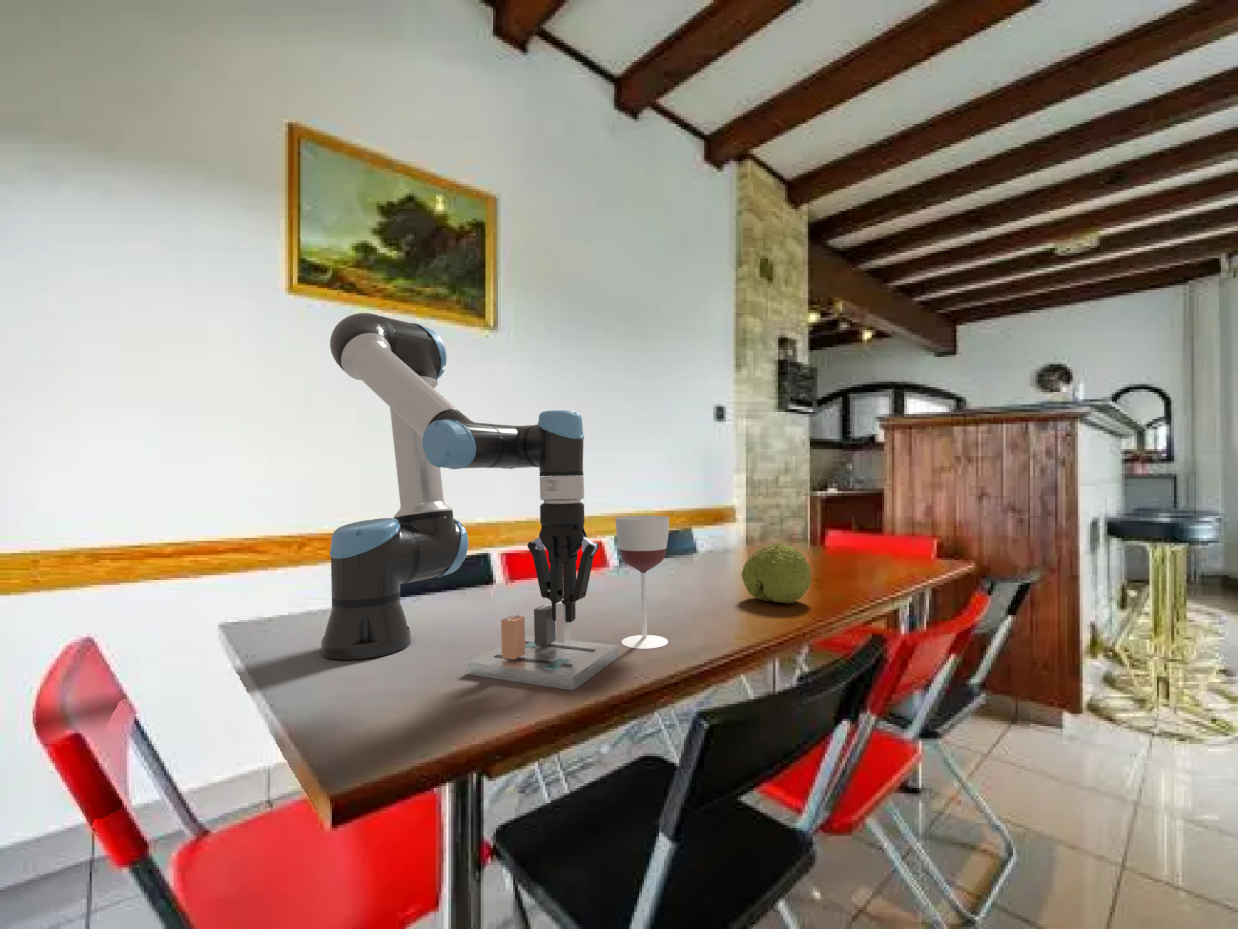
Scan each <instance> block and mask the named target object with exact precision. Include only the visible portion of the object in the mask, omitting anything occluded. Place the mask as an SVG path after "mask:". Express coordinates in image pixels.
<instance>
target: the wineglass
mask: <svg viewBox="0 0 1238 929" xmlns="http://www.w3.org/2000/svg"><path fill="white" fill-rule="evenodd" d="M669 530H670V517H669V516H664V515H627V516H626V515H625V516H618V517H615V532H616V539H617V544H618V545H617V546H618V550H619V555H620V556H621V560H622V561H623V562H624V563H625V564H627V565H628V566H630V567H631V568H632V569H635V570H637V571H638V572H640V586H641V587H640V588H641V595H640V596H641V634H637V635H631V636H628V637H624V638H623V639H622V640H621V644H622V645H623V646H625V647H629V648H632V649H640V650H643V649H645V650H646V649H647V650H648V649H657V648H660V647H661V648H662V647H664V646H666V645H667V644H669V641H668V639H667V638H665V637H662V636H660V635H655V634H654V635H653V634H652V635H651V634H648V625H647V624H648V620H647V619H648V618H647V580H646V579H647V576H646V573H647V572H648V571H649V570H651V569H653V568H655V567H656V566H658V565H659V564H660V563H661V562H662V561H663V560H664V559H665V556H666V555H667V554H666V552H667V547H668V541H669V534H670V533H669V532H670V531H669Z"/></svg>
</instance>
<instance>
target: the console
mask: <svg viewBox="0 0 1238 929" xmlns="http://www.w3.org/2000/svg"><path fill="white" fill-rule="evenodd" d="M617 658H619V645H616V644H608V643H601V642H600V643H599V642H590V641H582V640H575V639H574V640H573V639H570V640H568V641H567V642H565V643H560V642H556V641H555V642H553V643H551V644H549V645H547V646H544V645H536V644H535V637H534V635H529V634H525V654H524V655H522V656H520V657H518V658H517V659H515V660H514V659H507V658H502V644H501V645H499V646H497V647H496V648H493V649H491V650H489V651H488V652H485V653H483V654H480V655H479V656H477V657H475V658H473V659H470V660H468V661H467V662H466V663H467V675H469V676H474V677H475V676H476V677H483V678H488V679H496V680H501V681H502V680H503V681H509V682H514V683H522V684H528V685H533V686H541V687H547V688H555V689H561V690H565V691H568V690H569V691H575V690H576V689H578V688H579V687H581V686H582V685H583V684H584V683H586V682H587V681H588V680H590V679H591V678H593V677H594V676H595V675H596V674H597V673H599V672H600V671H601V670H603V669H604V668H606V667H607V666H608V665H610V664H612V662H614V661H615V660H617Z"/></svg>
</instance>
